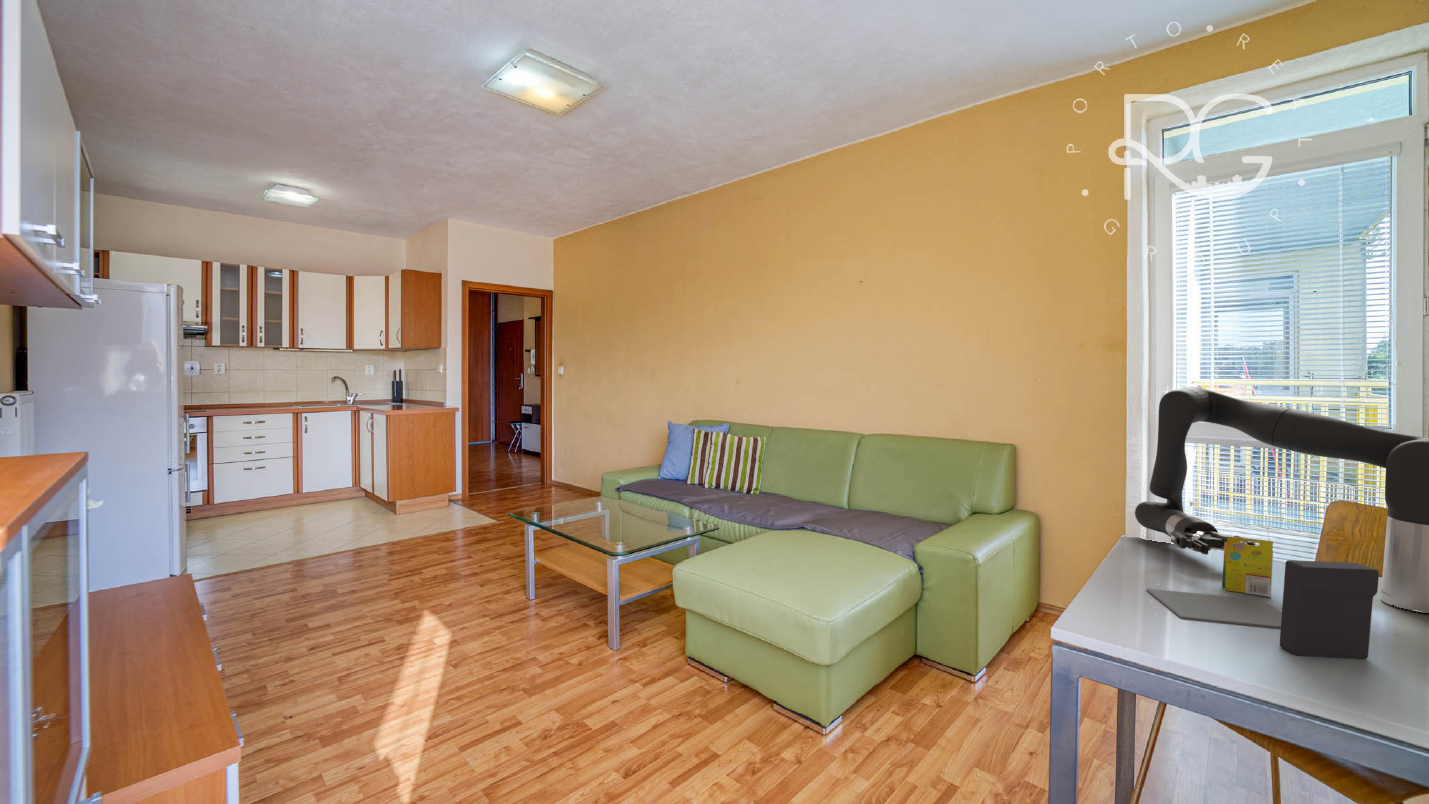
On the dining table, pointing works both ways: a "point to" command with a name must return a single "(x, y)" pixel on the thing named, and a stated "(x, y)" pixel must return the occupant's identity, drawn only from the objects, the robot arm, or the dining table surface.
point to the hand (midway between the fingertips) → (1229, 551)
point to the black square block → (1327, 608)
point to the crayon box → (1248, 566)
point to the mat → (1220, 608)
